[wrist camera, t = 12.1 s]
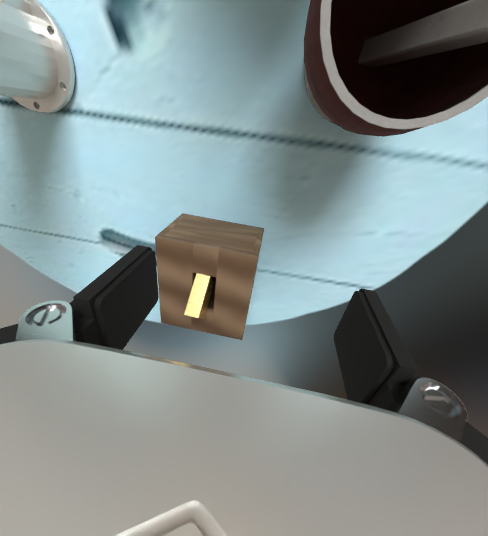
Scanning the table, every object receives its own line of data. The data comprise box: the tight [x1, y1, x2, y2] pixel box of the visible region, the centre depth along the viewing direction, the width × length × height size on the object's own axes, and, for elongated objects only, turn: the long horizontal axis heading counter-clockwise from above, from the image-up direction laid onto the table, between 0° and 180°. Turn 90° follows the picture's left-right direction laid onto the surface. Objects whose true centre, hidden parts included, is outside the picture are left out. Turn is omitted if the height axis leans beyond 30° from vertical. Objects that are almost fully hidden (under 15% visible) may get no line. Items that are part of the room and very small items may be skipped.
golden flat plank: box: [184, 273, 214, 319], centre depth 35 cm, size 5×2×6 cm
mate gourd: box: [304, 0, 488, 136], centre depth 19 cm, size 16×14×20 cm
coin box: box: [155, 214, 264, 340], centre depth 40 cm, size 16×14×10 cm
